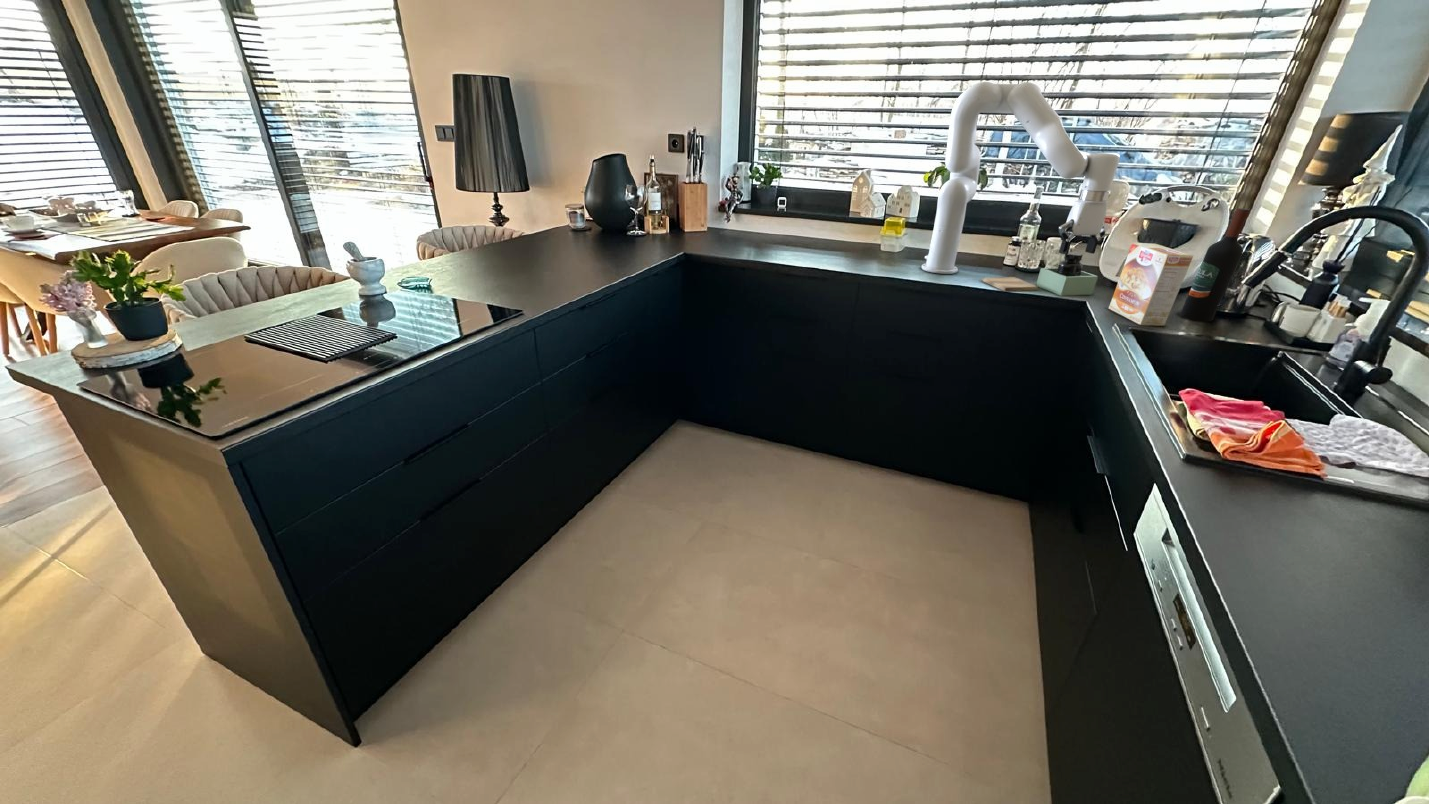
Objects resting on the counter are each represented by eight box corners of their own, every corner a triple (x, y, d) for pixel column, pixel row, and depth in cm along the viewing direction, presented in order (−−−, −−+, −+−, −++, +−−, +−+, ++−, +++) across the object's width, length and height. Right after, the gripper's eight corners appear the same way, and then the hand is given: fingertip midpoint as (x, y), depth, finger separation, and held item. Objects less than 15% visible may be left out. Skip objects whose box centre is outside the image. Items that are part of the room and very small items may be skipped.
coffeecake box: (1107, 308, 167) (1131, 242, 158) (1131, 309, 167) (1156, 243, 157) (1139, 325, 153) (1167, 254, 144) (1165, 326, 153) (1195, 255, 144)
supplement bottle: (1069, 287, 186) (1080, 251, 181) (1078, 293, 180) (1091, 256, 175) (1047, 286, 187) (1058, 250, 181) (1056, 292, 181) (1068, 255, 175)
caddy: (1035, 285, 188) (1040, 268, 185) (1065, 284, 190) (1071, 267, 187) (1060, 295, 178) (1066, 277, 175) (1091, 294, 180) (1098, 276, 177)
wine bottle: (1214, 323, 156) (1265, 212, 142) (1181, 318, 160) (1227, 209, 146) (1210, 316, 162) (1259, 208, 148) (1178, 311, 166) (1223, 206, 152)
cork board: (982, 281, 191) (983, 277, 191) (1013, 280, 193) (1014, 276, 193) (1004, 291, 181) (1005, 287, 180) (1037, 290, 183) (1038, 286, 182)
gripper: (1107, 194, 175) (1090, 249, 183) (1059, 195, 172) (1044, 251, 180) (1127, 197, 168) (1109, 254, 176) (1078, 198, 165) (1061, 256, 173)
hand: (1076, 253), depth 178 cm, fingers open, 9 cm apart
